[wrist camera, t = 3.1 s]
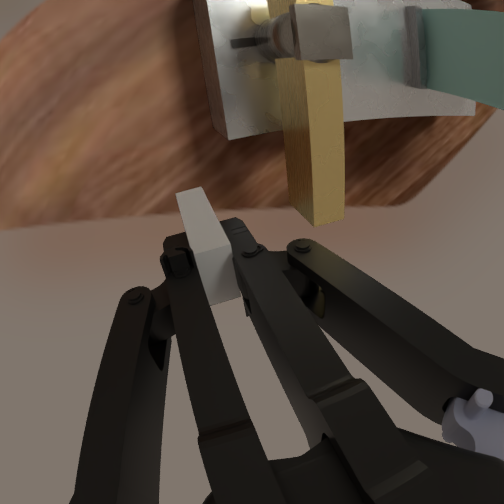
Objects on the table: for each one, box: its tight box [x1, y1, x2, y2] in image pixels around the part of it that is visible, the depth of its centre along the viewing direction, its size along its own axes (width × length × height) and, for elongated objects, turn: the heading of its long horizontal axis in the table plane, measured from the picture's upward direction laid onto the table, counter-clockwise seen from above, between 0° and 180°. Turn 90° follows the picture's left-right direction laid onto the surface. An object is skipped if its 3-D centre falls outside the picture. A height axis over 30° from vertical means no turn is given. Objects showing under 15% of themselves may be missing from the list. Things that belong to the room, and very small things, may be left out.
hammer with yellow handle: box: [255, 0, 353, 227], centre depth 15 cm, size 3×14×5 cm, turn 8°
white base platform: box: [193, 0, 476, 140], centre depth 19 cm, size 25×12×6 cm, turn 98°
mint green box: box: [422, 9, 504, 110], centre depth 15 cm, size 7×7×10 cm
